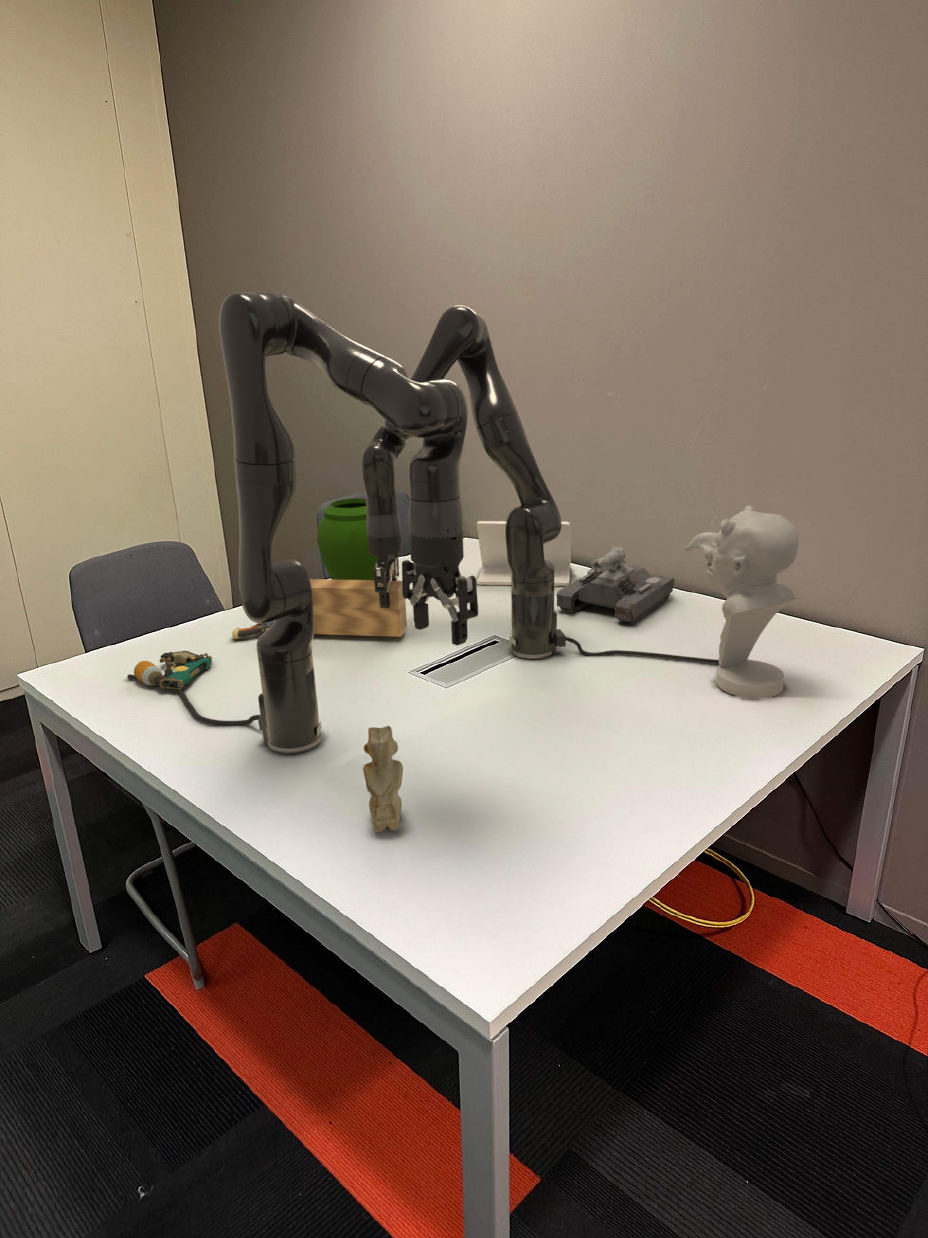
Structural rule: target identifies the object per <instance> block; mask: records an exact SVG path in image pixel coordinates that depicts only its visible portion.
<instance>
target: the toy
mask: <svg viewBox="0 0 928 1238" xmlns="http://www.w3.org/2000/svg"><path fill="white" fill-rule="evenodd" d="M626 557H627V556H626V551H625V549H624V548H622V547H621V546H614V547H612V548H611V549H610V550H609V552H608V553H607V554H605V555H604V556H601V557H599V558H598V559H597V557H596V558H594V559H593V560H592V561H590V562H589V563H590V564H591V565H592V567H591V568H590V569H589V570H587V573H586V575H584V576H582V577H580V578H578V579H577V580H575V581H573V582H570V583H569V585H567V586H563V587H562V588H560V589H559V590H558V591H557V592H556V607H558V608H559V609H560V610H562V611H566V612H572V613H575V612H577V611H579V610H581V609H582V608H585V607H586V606H588V605H592V606H598V607H602V608H603V607H604V608H609V609H613V610H614V618H615V619H617V620H618V621H621V622H626V623H631V624H634V623H635V622H637V621H638V620H640V619H641V618H642V617H644V616H645V615H647V614H648V613H650V612H651V611H652V610H654V609H655V608H657V607H659V606H660V605H661V604H663V603H664V602H666V601H667V600H669V598H670V596H671V594H672V593H673V591H674V585H675V580H676V579H675V578H673V577H668V576H663V575H656V576H655V577H654V576H651V574H650V573H649V572H648V571H647V570H646V568H644V567H641V566H635V565H629V564H628V563H627V562H626V561H625V559H626Z"/></svg>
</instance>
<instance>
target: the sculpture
mask: <svg viewBox="0 0 928 1238" xmlns="http://www.w3.org/2000/svg"><path fill="white" fill-rule="evenodd" d="M367 734H368V735H367V736H368V737H367V742H365V744H364V745H363V751H364V752H365V754H367V755H368V756H369V757H370V759H371V761H370V762H367V763H365V764H364V765H363V766H362V772H363V777H364V781H365V786H366V791H367V792H368V793H369V794H370V798H369V800H368V808H369V813H370V816H371V820H372V823H373V824H372V825H373V828H374V831H375V833H381V832H384V831H385V829H386V828H389V831H398V830H399V829H400V828H399V827H400V819H401V815H402V798H401V796H400V795H399V791H400V789H401V786H402V782H403V775H404V767H403V764H402V762H401V761H400V760H398V759H393V756H394V755H395V754H397V752H398V751H399V745H398V742H397V740H395V739H394V736H393V729H392V727H391V726H390V725H386V726H382V727H375V726H374V727H371V726H370V727H369V728H368V729H367Z"/></svg>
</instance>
